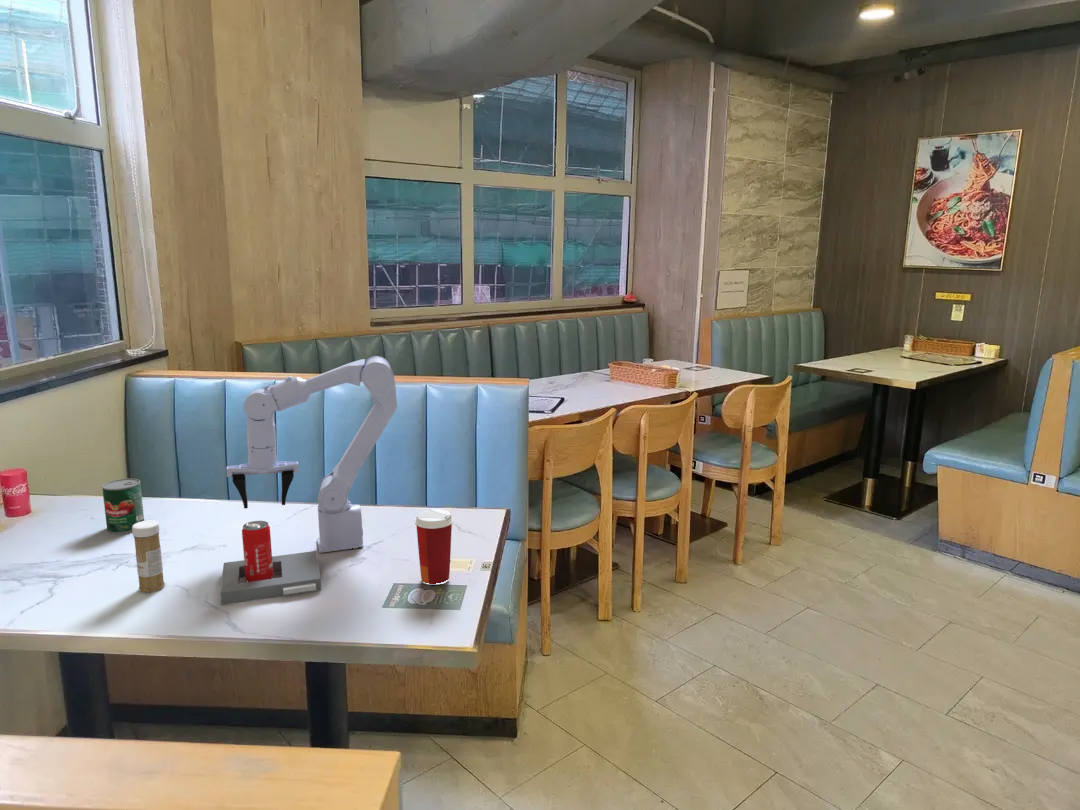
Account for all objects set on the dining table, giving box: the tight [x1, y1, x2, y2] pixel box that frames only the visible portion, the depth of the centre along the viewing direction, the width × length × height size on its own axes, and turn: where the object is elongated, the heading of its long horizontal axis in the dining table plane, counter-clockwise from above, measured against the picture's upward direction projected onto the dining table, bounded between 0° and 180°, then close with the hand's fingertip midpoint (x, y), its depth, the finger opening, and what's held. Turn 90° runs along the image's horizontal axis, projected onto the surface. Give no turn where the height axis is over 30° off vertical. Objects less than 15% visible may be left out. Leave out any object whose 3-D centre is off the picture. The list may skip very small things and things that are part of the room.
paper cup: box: [413, 508, 454, 584], centre depth 145 cm, size 8×8×14 cm
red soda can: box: [241, 520, 274, 582], centre depth 144 cm, size 5×5×12 cm
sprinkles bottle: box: [131, 519, 166, 593], centre depth 140 cm, size 5×5×14 cm
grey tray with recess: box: [219, 550, 322, 606], centre depth 144 cm, size 18×15×2 cm
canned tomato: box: [101, 478, 145, 535], centre depth 171 cm, size 8×8×11 cm
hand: (264, 505), depth 158 cm, fingers open, 7 cm apart
